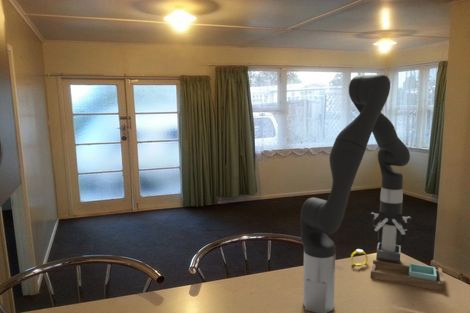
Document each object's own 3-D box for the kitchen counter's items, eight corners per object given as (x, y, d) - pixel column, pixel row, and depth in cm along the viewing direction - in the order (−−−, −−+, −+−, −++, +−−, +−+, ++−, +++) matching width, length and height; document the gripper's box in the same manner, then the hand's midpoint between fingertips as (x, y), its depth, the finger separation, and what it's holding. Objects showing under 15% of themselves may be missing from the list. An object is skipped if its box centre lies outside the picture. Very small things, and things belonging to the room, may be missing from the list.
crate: (435, 287, 115) (436, 276, 115) (408, 282, 119) (409, 271, 118) (434, 278, 121) (435, 267, 121) (408, 273, 125) (409, 263, 124)
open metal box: (399, 270, 129) (400, 253, 128) (376, 266, 132) (376, 250, 131) (399, 261, 136) (400, 245, 135) (377, 258, 139) (378, 242, 138)
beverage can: (392, 251, 135) (394, 221, 133) (397, 257, 131) (398, 226, 129) (379, 251, 136) (381, 221, 134) (383, 256, 131) (385, 226, 129)
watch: (365, 264, 135) (367, 249, 134) (367, 267, 132) (369, 252, 131) (349, 262, 135) (351, 248, 134) (351, 266, 133) (353, 251, 132)
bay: (443, 292, 113) (444, 281, 113) (370, 279, 123) (370, 268, 122) (440, 278, 122) (441, 268, 121) (372, 267, 132) (373, 257, 131)
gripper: (369, 200, 130) (368, 242, 132) (412, 204, 124) (410, 248, 126) (371, 195, 136) (369, 235, 139) (412, 199, 130) (410, 240, 133)
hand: (389, 241), depth 132 cm, fingers open, 8 cm apart
